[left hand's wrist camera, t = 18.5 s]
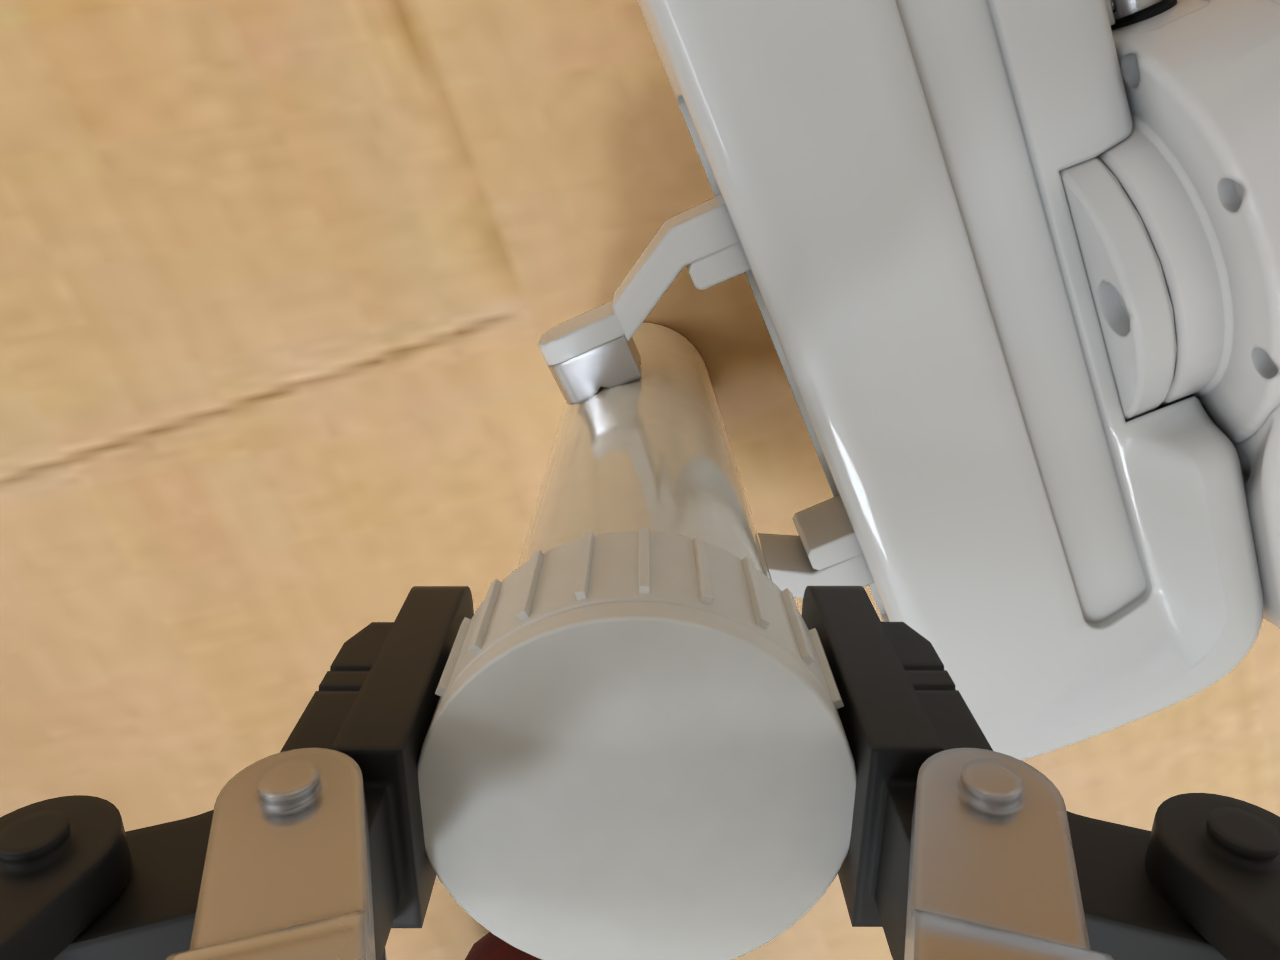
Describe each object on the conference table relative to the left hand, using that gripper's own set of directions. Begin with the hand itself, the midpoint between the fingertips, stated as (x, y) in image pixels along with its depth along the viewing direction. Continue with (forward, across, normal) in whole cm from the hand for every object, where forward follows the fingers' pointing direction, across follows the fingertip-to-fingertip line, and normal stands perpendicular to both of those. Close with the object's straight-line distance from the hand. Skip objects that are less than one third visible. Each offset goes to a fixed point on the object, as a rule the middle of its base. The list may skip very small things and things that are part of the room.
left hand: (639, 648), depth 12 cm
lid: (-3, 0, 0) cm, 3 cm away
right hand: (+9, -1, -1) cm, 9 cm away
